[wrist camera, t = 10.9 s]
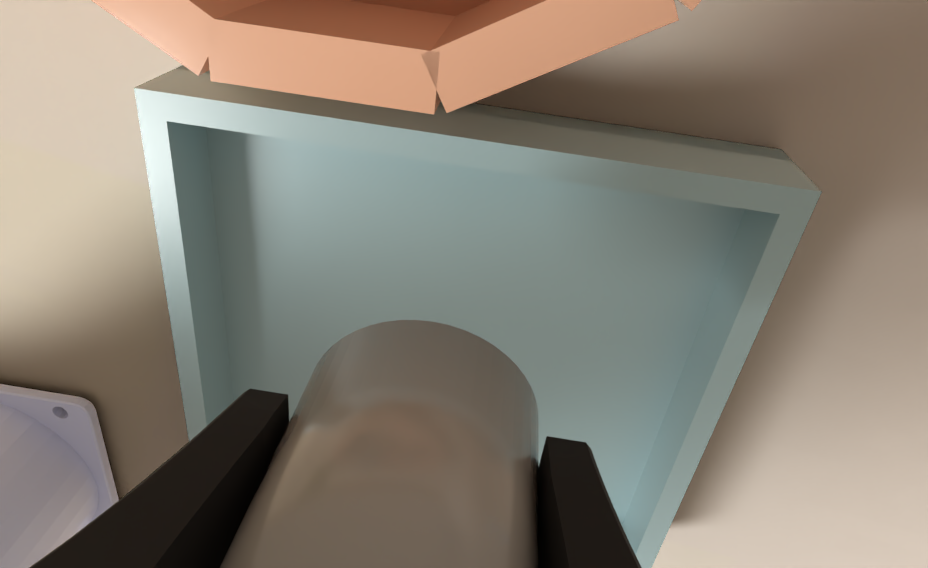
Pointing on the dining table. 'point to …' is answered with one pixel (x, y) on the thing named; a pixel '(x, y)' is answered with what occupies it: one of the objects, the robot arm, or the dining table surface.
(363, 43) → the terracotta bowl
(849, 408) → the dining table surface
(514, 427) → the slate pebble
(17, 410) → the robot arm
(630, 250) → the parts tray
